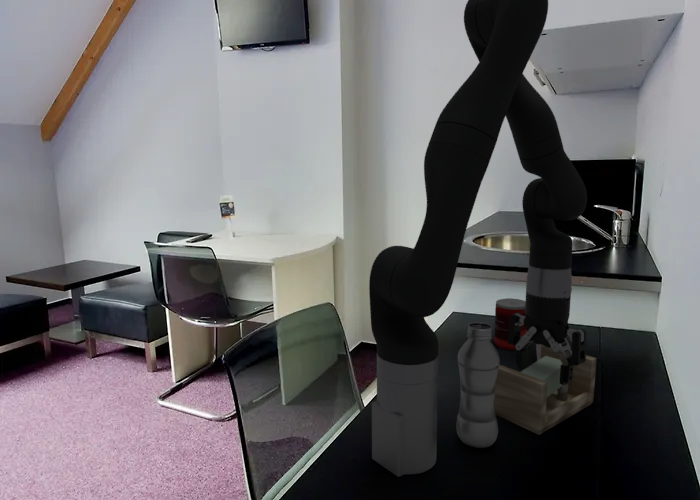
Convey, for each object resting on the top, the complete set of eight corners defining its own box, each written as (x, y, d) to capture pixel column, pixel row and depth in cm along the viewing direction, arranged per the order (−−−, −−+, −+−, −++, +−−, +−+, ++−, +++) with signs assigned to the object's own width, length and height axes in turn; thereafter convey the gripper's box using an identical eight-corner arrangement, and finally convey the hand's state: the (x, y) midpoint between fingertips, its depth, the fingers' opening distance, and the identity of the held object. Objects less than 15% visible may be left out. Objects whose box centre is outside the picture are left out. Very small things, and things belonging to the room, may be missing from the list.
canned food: (529, 342, 128) (532, 300, 126) (521, 353, 121) (524, 308, 119) (499, 337, 132) (501, 296, 130) (490, 347, 125) (491, 304, 123)
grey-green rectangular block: (539, 403, 88) (540, 382, 88) (515, 395, 91) (516, 374, 91) (567, 381, 97) (568, 362, 96) (544, 375, 100) (545, 355, 99)
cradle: (539, 434, 85) (542, 384, 84) (488, 411, 93) (490, 365, 92) (593, 403, 96) (596, 358, 95) (543, 384, 104) (545, 342, 103)
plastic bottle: (490, 458, 79) (495, 335, 75) (449, 445, 82) (452, 328, 79) (502, 438, 84) (507, 323, 81) (463, 427, 88) (466, 317, 84)
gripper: (501, 286, 94) (498, 368, 97) (575, 302, 83) (568, 395, 86) (525, 280, 99) (521, 359, 101) (598, 295, 87) (591, 383, 90)
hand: (542, 375), depth 94 cm, fingers open, 8 cm apart
